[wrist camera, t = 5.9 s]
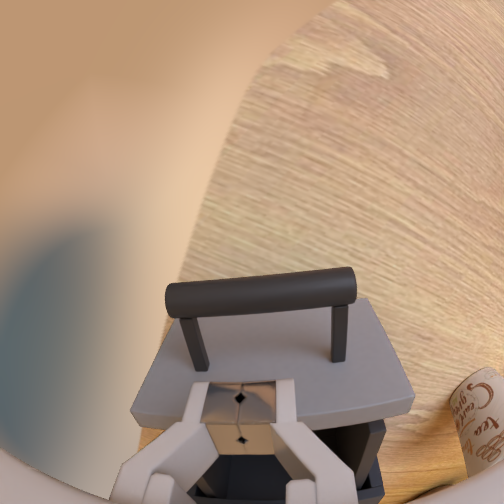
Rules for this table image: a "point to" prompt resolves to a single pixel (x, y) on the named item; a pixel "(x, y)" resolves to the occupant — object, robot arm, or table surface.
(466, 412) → the mug
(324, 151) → the table surface
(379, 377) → the drawer
